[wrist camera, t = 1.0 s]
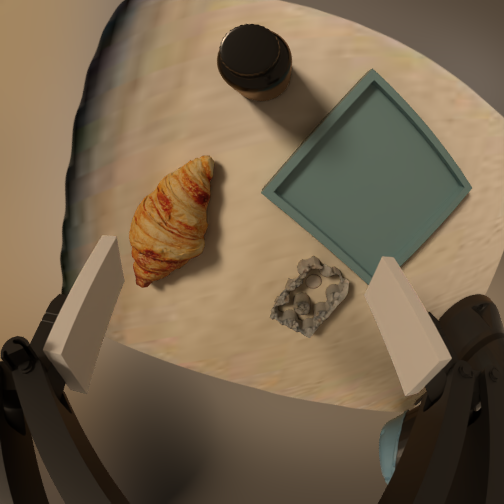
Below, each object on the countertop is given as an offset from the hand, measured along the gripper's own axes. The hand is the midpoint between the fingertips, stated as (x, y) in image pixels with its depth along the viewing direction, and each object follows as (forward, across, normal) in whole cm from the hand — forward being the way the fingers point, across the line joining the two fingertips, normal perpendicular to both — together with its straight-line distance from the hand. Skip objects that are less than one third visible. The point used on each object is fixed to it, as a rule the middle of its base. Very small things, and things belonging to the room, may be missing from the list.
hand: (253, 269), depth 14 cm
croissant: (+23, +8, +12) cm, 27 cm away
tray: (+20, -17, +2) cm, 26 cm away
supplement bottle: (+25, -1, -8) cm, 26 cm away
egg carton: (+19, -11, +18) cm, 28 cm away
